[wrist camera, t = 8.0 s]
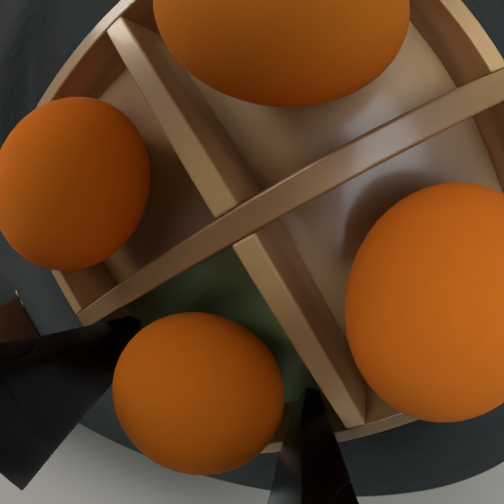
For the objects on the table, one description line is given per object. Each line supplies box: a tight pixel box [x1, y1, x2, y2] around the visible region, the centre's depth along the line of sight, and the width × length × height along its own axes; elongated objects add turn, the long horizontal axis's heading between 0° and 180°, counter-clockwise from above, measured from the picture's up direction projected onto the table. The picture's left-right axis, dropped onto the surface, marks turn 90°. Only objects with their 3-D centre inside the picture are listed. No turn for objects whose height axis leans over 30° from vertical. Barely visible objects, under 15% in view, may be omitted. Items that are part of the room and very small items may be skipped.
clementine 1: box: [0, 97, 151, 271], centre depth 6 cm, size 5×5×5 cm
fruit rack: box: [36, 0, 504, 454], centre depth 7 cm, size 14×14×3 cm
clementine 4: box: [344, 182, 504, 422], centre depth 4 cm, size 5×5×5 cm
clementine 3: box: [112, 312, 285, 475], centre depth 7 cm, size 5×5×5 cm
